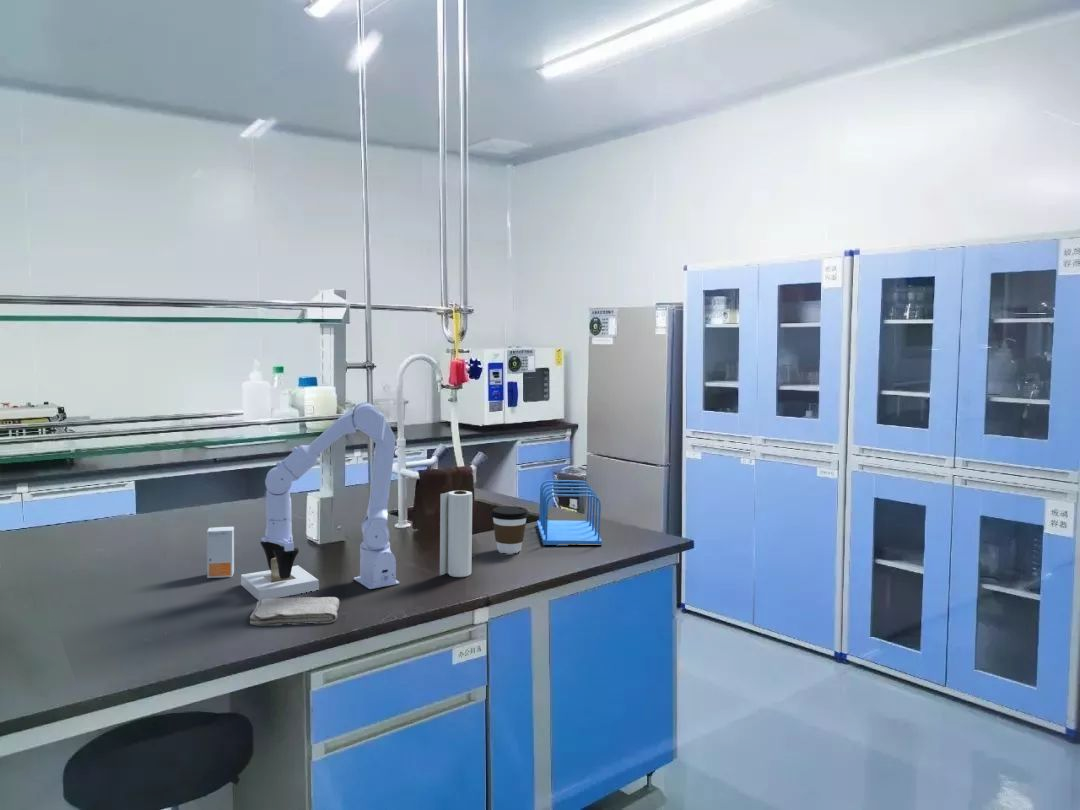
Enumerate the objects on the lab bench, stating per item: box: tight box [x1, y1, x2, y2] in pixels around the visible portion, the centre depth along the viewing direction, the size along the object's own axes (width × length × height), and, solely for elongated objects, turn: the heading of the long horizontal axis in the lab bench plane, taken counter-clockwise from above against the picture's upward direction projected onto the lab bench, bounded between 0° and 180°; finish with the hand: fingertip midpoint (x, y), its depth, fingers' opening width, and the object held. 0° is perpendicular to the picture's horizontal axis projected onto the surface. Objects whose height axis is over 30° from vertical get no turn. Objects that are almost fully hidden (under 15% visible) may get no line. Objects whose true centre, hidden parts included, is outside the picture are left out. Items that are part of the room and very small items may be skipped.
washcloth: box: [249, 596, 340, 626], centre depth 172 cm, size 12×18×3 cm, turn 101°
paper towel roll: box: [439, 490, 473, 578], centre depth 202 cm, size 7×6×21 cm
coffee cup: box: [490, 505, 530, 554], centre depth 224 cm, size 11×11×12 cm
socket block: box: [240, 565, 320, 602], centre depth 190 cm, size 14×14×2 cm
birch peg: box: [271, 557, 289, 583], centre depth 190 cm, size 4×4×7 cm
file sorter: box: [536, 479, 603, 546], centre depth 243 cm, size 25×17×15 cm
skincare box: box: [206, 526, 235, 579], centre depth 198 cm, size 6×4×12 cm
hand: (279, 573), depth 190 cm, fingers open, 7 cm apart
